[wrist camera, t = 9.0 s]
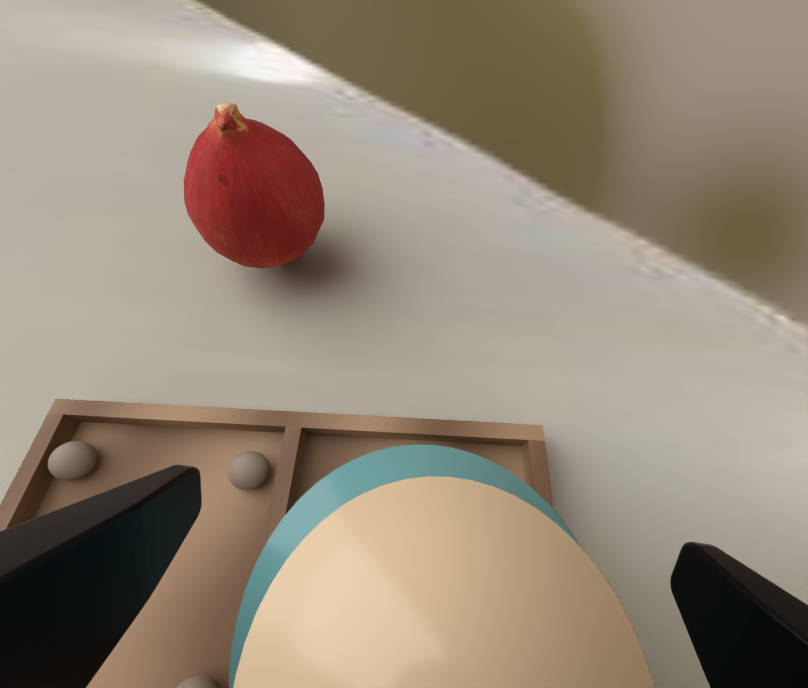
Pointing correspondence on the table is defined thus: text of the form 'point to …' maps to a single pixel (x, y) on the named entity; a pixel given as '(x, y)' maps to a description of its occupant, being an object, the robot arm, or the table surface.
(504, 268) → the table surface
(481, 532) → the bottle
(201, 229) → the onion
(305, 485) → the double tray
